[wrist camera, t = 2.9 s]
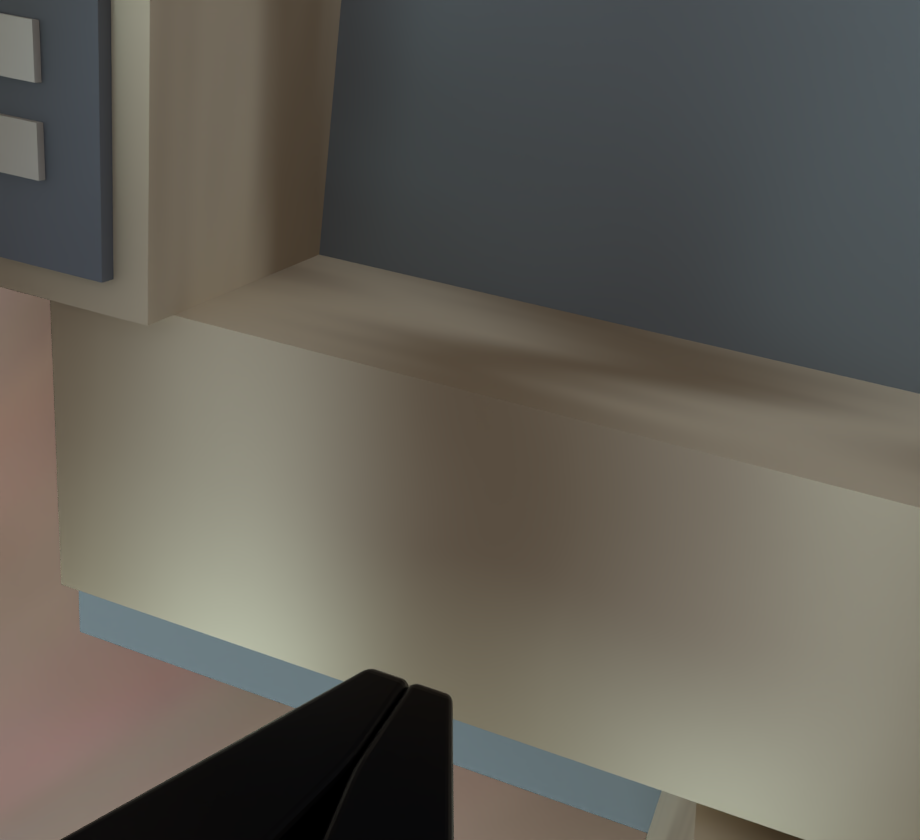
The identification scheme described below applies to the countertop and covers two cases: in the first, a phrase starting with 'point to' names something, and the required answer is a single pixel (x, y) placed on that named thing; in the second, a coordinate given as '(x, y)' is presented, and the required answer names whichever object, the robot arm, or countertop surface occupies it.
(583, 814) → the countertop surface
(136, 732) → the countertop surface
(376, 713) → the robot arm
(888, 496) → the plain bar
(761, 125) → the mat
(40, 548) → the countertop surface
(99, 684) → the countertop surface
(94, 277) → the number block
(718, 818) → the number block
